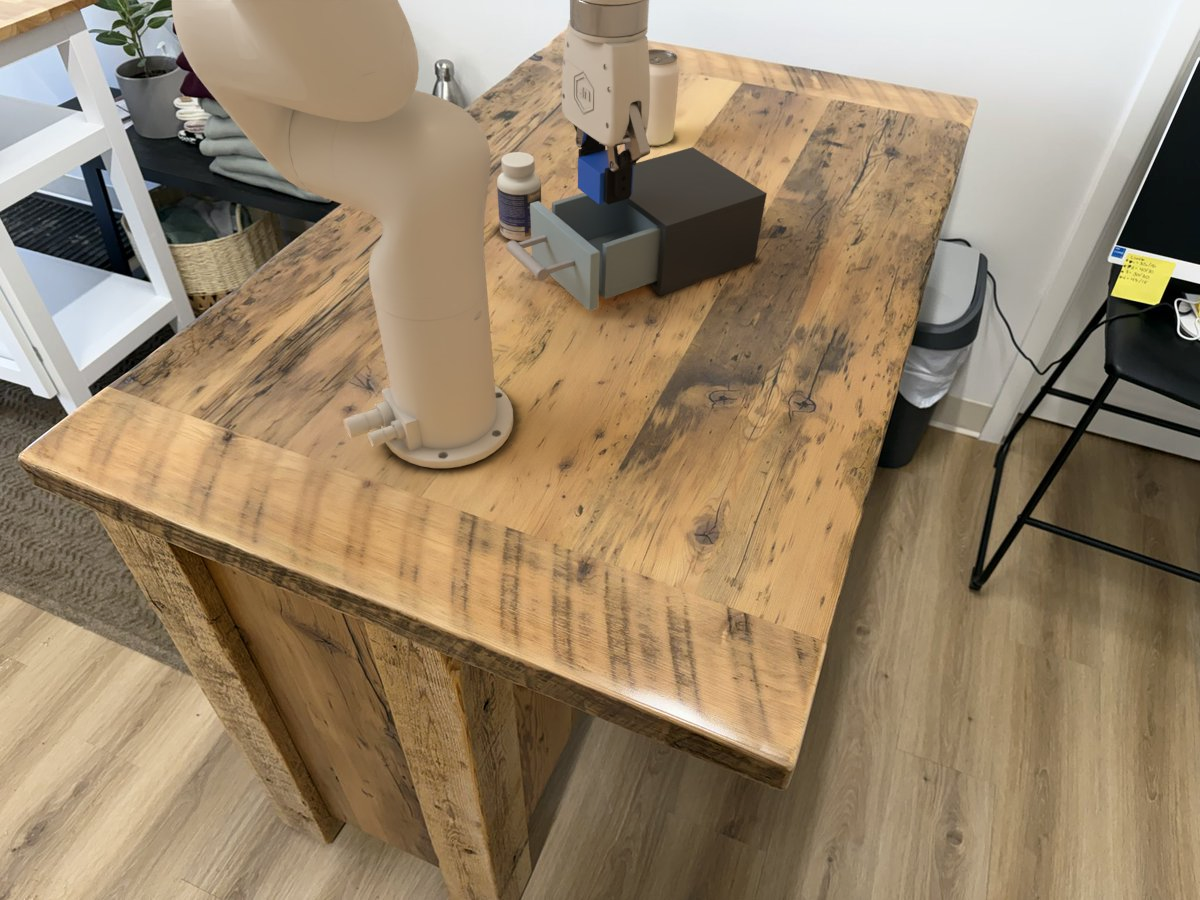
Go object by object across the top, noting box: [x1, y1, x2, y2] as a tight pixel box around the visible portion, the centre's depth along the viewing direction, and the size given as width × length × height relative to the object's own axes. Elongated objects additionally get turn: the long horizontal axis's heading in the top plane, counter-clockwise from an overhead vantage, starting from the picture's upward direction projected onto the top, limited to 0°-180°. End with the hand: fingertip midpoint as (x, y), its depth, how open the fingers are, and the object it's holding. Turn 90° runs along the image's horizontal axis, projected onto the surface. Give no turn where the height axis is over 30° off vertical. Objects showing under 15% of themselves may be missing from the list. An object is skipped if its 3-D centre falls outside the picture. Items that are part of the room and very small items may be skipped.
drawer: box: [505, 192, 662, 312], centre depth 97 cm, size 18×13×7 cm
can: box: [646, 48, 680, 147], centre depth 124 cm, size 6×6×12 cm
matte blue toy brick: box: [577, 149, 634, 205], centre depth 92 cm, size 4×4×4 cm
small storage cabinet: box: [623, 147, 767, 297], centre depth 102 cm, size 15×14×9 cm
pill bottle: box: [496, 151, 542, 242], centre depth 104 cm, size 5×5×10 cm
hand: (604, 188), depth 93 cm, fingers closed on matte blue toy brick, 4 cm apart
